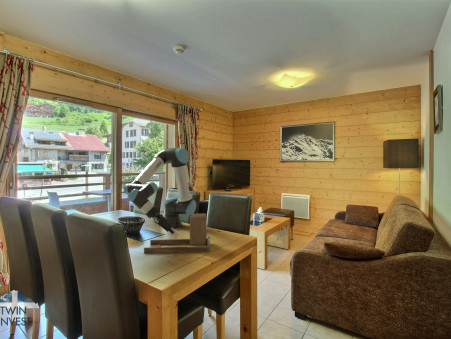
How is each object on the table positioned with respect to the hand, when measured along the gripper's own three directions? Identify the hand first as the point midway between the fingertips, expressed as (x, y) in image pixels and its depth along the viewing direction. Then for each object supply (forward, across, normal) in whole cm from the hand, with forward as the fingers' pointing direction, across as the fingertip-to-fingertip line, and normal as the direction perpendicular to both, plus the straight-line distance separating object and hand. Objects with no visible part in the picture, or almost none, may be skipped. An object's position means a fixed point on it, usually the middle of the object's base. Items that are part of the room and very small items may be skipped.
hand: (177, 236), depth 149 cm
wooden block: (+14, -1, +4) cm, 15 cm away
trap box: (+6, 0, -5) cm, 7 cm away
